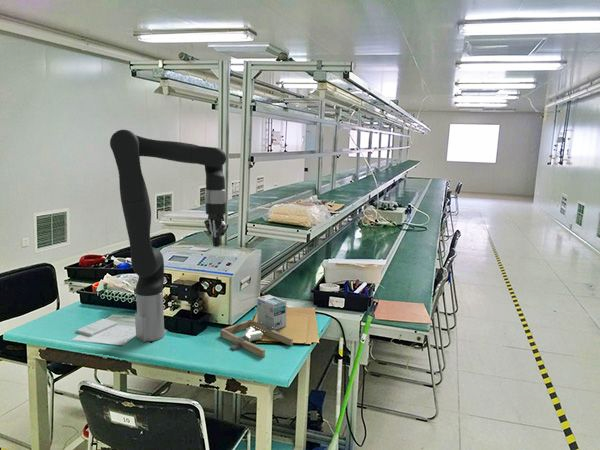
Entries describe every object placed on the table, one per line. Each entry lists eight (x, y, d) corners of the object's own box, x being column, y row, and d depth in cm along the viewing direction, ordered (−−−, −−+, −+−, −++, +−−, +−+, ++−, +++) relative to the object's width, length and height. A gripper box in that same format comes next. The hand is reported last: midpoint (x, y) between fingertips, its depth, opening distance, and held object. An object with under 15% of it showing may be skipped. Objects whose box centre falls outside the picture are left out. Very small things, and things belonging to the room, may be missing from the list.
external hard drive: (118, 326, 183) (91, 337, 172) (103, 322, 187) (76, 333, 176) (117, 322, 183) (91, 333, 172) (102, 318, 186) (76, 329, 175)
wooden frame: (262, 357, 158) (262, 350, 157) (220, 335, 174) (220, 329, 174) (292, 345, 168) (292, 338, 167) (250, 325, 184) (250, 319, 184)
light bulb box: (286, 326, 184) (287, 300, 182) (274, 331, 180) (274, 304, 178) (269, 318, 192) (269, 293, 190) (256, 323, 187) (256, 297, 185)
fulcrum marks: (234, 350, 163) (234, 343, 162) (229, 348, 165) (229, 340, 164) (280, 333, 178) (280, 326, 177) (274, 330, 180) (274, 324, 179)
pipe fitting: (263, 338, 175) (246, 335, 176) (264, 328, 174) (246, 325, 175) (258, 347, 167) (240, 344, 168) (259, 337, 166) (240, 334, 167)
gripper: (197, 200, 177) (198, 244, 180) (217, 204, 168) (218, 251, 171) (213, 198, 182) (214, 242, 185) (234, 202, 173) (234, 247, 176)
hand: (216, 246), depth 178 cm, fingers closed
